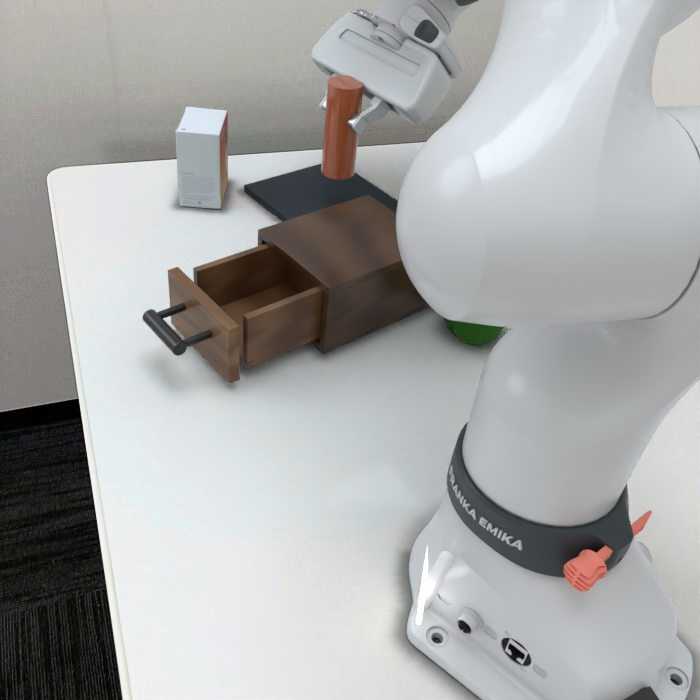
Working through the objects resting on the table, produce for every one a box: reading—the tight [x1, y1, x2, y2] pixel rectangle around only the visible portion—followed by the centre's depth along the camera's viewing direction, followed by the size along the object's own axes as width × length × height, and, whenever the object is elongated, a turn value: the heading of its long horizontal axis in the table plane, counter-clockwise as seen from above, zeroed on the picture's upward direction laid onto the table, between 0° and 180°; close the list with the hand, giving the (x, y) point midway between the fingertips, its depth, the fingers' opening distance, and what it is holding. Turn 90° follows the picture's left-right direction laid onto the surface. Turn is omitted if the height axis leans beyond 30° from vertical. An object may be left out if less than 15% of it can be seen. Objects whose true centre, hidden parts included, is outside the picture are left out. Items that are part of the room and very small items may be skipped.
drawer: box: [142, 243, 324, 385], centre depth 79 cm, size 19×11×7 cm, turn 129°
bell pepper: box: [442, 317, 505, 346], centre depth 84 cm, size 8×8×10 cm
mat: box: [243, 163, 398, 222], centre depth 105 cm, size 20×16×1 cm
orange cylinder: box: [320, 75, 364, 180], centre depth 98 cm, size 4×4×12 cm
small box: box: [174, 106, 229, 210], centre depth 101 cm, size 8×6×10 cm
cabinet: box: [257, 195, 431, 355], centre depth 86 cm, size 16×13×9 cm
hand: (338, 121), depth 97 cm, fingers closed on orange cylinder, 4 cm apart
